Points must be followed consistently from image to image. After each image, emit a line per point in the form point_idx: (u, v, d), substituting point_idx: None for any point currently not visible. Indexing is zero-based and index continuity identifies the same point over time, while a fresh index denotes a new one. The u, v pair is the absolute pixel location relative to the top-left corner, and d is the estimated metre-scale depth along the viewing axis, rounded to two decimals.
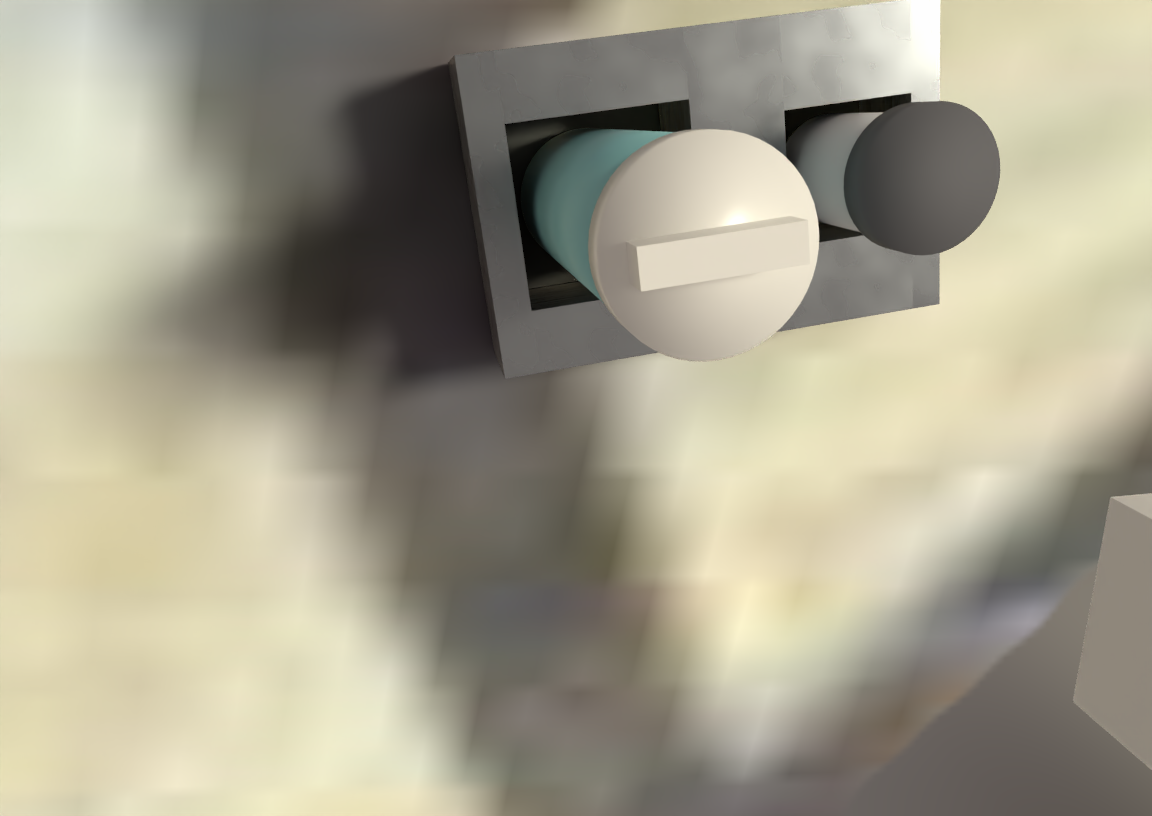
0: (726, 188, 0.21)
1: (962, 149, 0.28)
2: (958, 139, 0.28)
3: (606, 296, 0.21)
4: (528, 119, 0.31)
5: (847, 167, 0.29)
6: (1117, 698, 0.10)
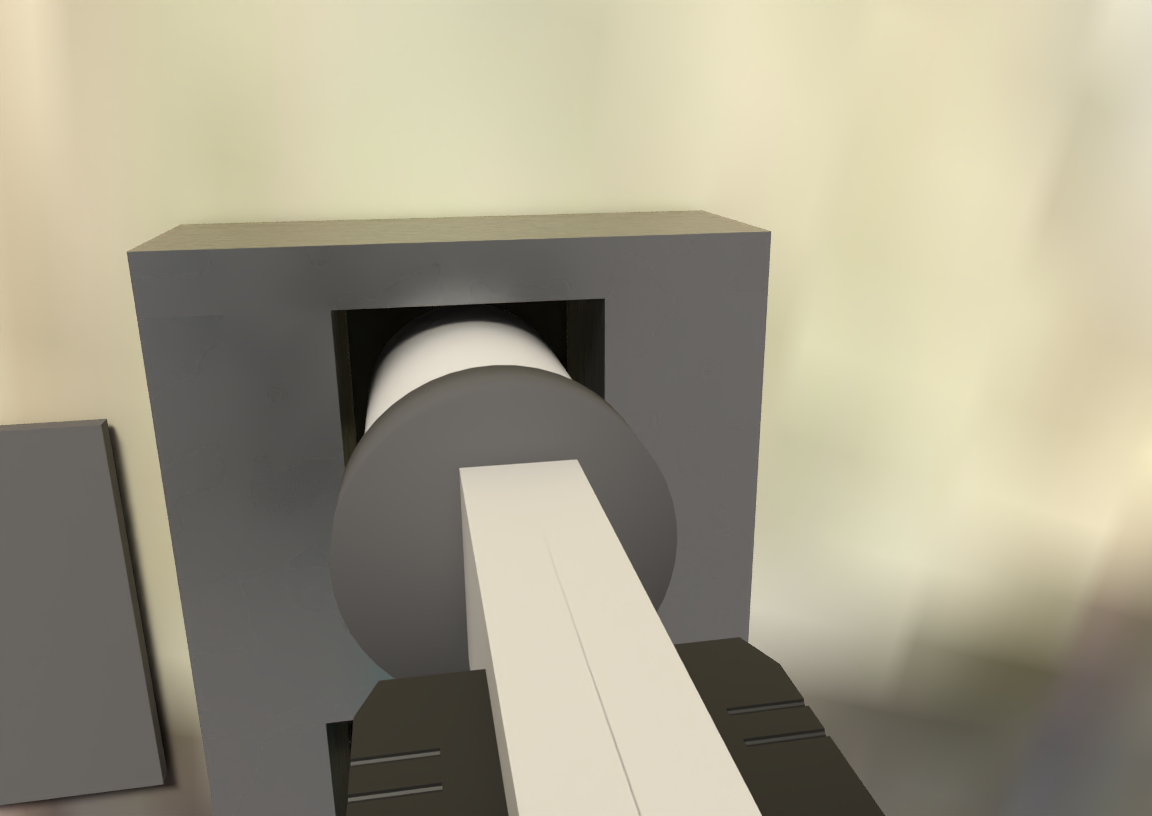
0: None
1: (446, 489, 0.12)
2: (421, 501, 0.12)
3: None
4: None
5: None
6: None
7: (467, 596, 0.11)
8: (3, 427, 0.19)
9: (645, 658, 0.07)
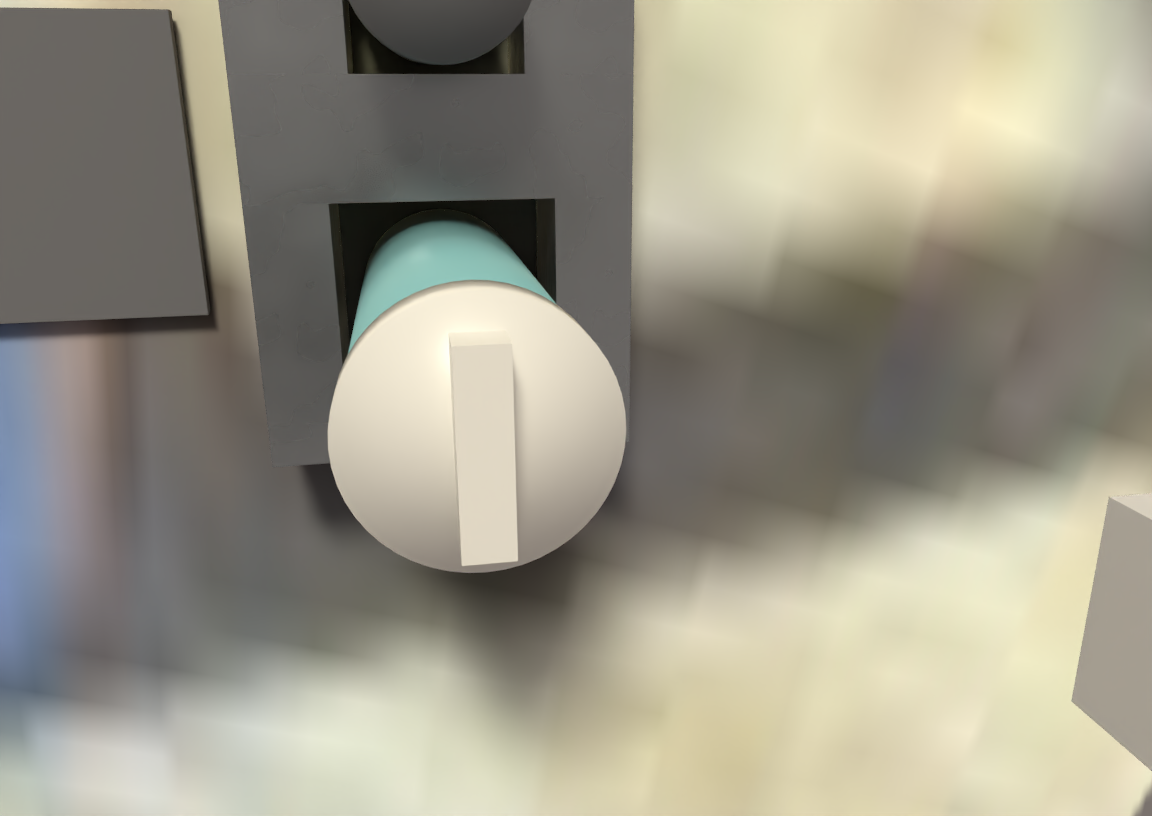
0: (403, 418, 0.16)
1: None
2: None
3: (523, 562, 0.18)
4: None
5: (415, 60, 0.22)
6: (1116, 698, 0.10)
7: None
8: None
9: None
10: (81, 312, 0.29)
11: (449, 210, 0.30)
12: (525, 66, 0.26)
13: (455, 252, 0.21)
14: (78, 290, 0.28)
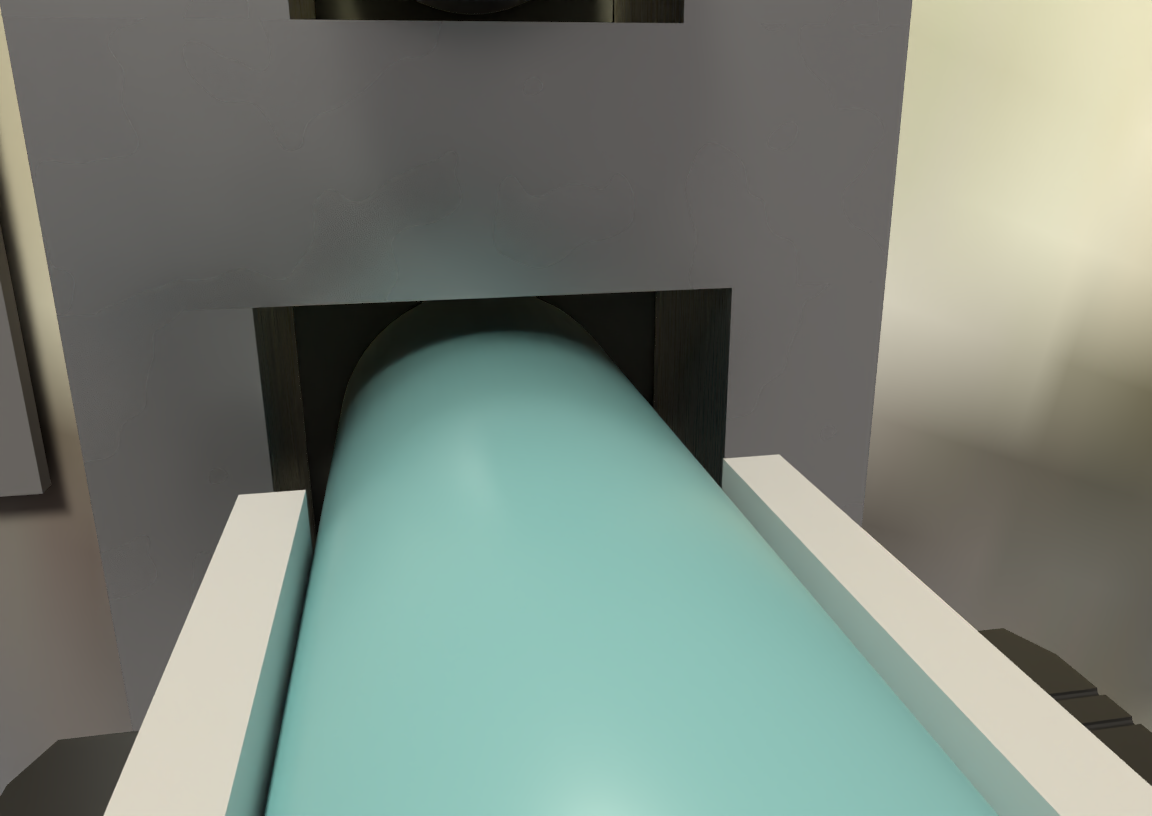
0: None
1: None
2: None
3: None
4: None
5: None
6: None
7: None
8: None
9: (960, 647, 0.07)
10: None
11: None
12: (685, 6, 0.12)
13: (583, 527, 0.07)
14: None
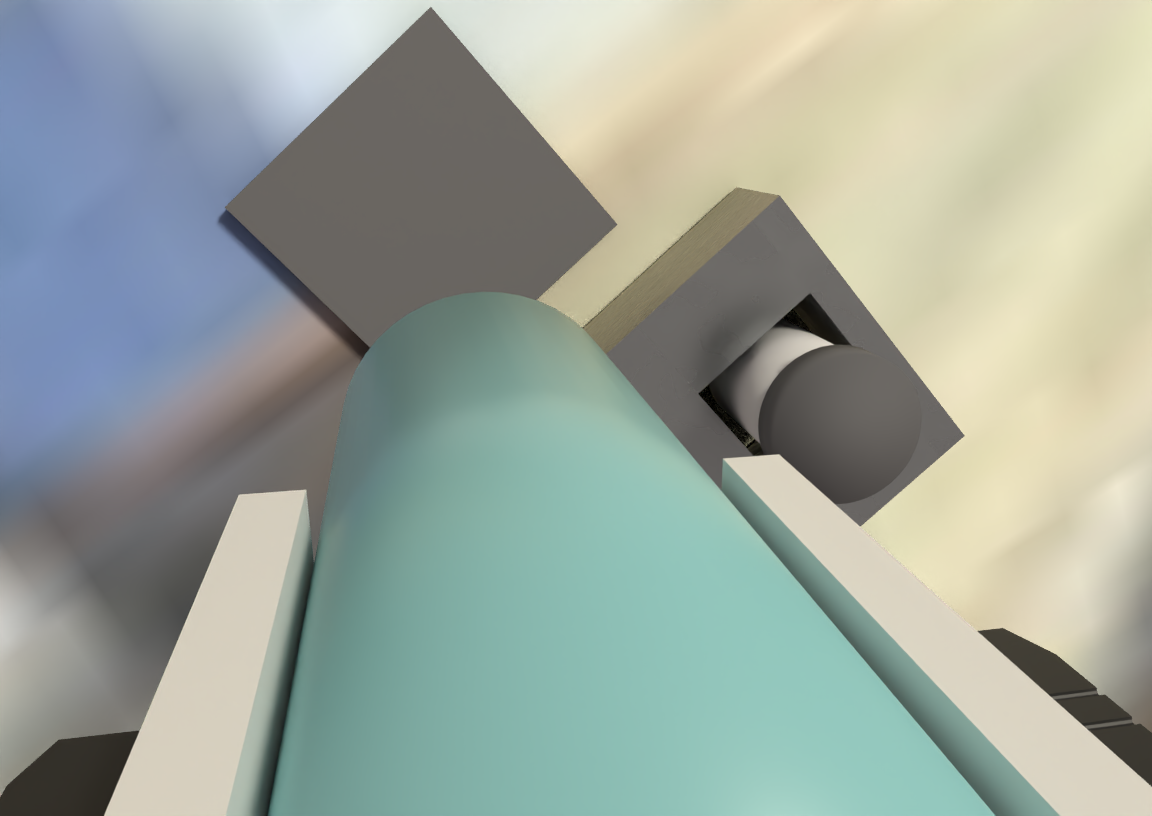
0: None
1: (860, 388, 0.26)
2: (850, 384, 0.26)
3: None
4: None
5: (765, 454, 0.28)
6: None
7: None
8: None
9: (959, 648, 0.07)
10: (352, 320, 0.31)
11: (501, 296, 0.16)
12: None
13: (586, 532, 0.07)
14: (368, 307, 0.31)
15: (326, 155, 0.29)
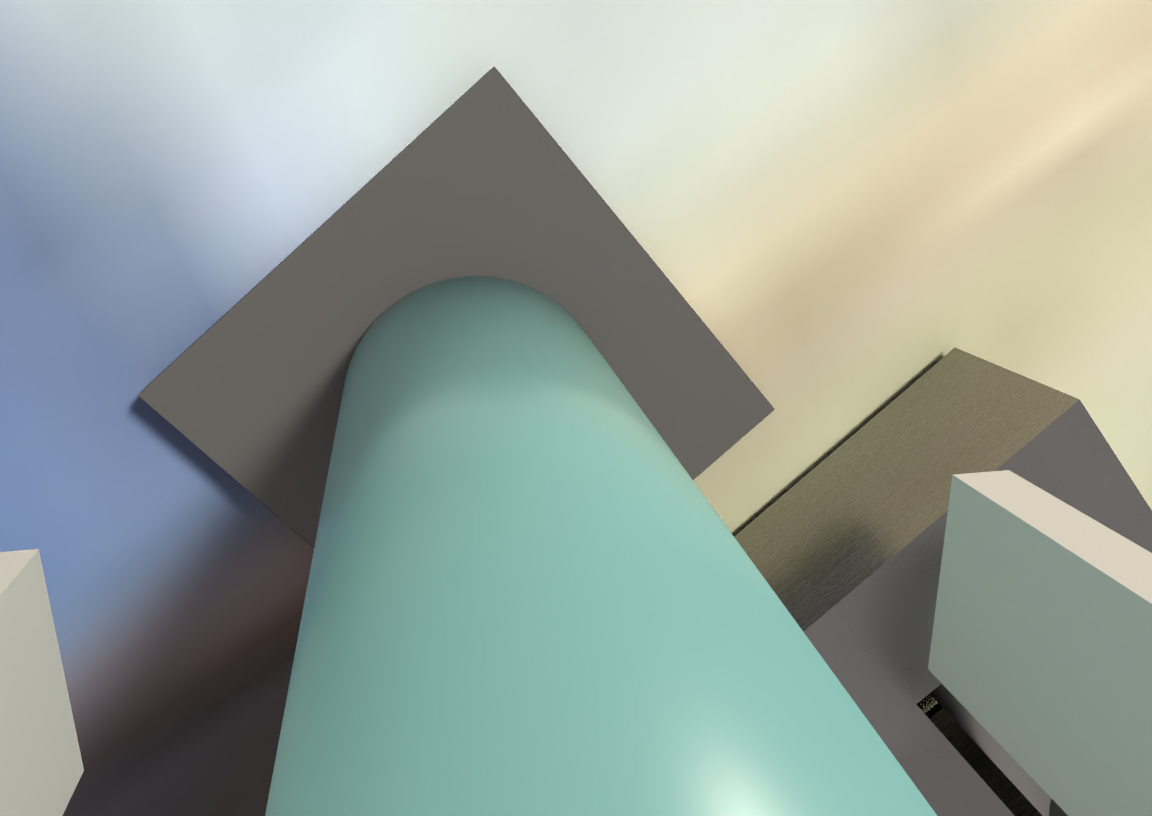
0: None
1: None
2: None
3: None
4: None
5: None
6: (960, 663, 0.11)
7: None
8: None
9: None
10: None
11: (490, 280, 0.17)
12: None
13: (546, 489, 0.08)
14: None
15: (311, 310, 0.17)
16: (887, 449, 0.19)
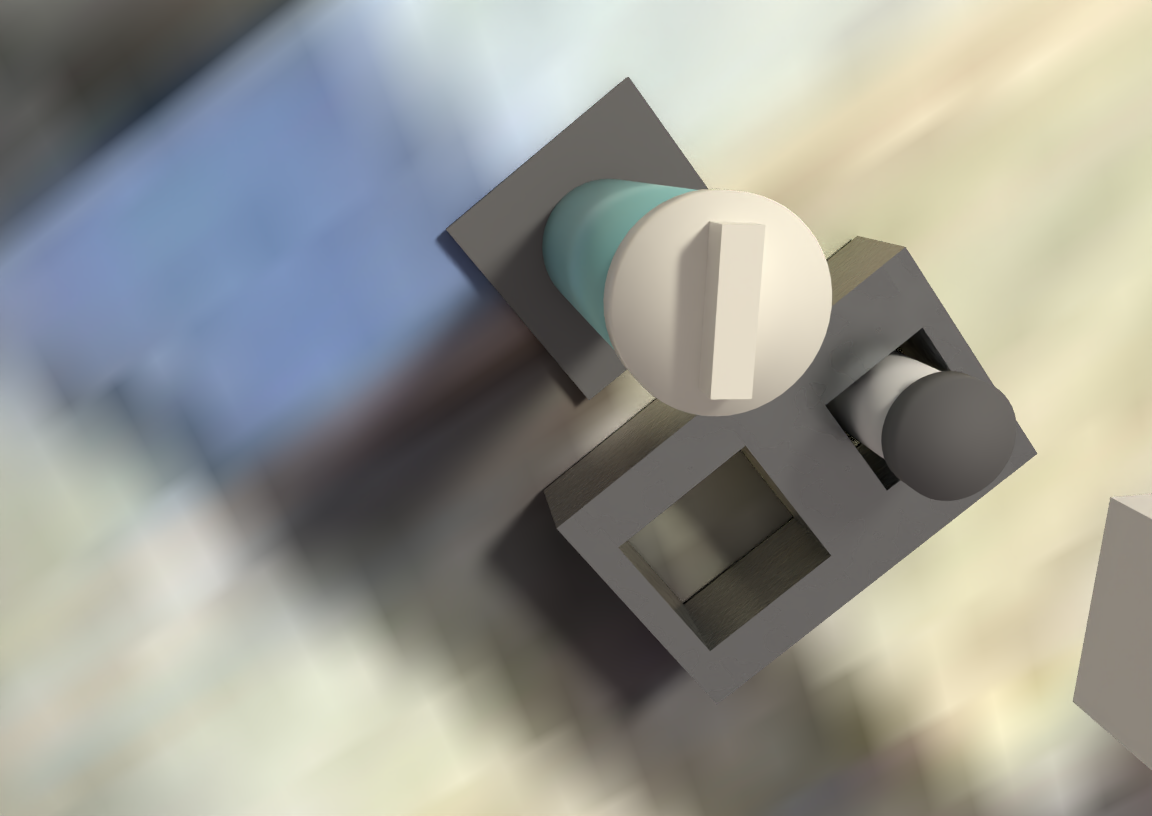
0: (670, 286, 0.21)
1: (969, 407, 0.33)
2: (962, 403, 0.33)
3: (744, 411, 0.23)
4: (633, 533, 0.36)
5: (885, 457, 0.34)
6: (1117, 698, 0.10)
7: None
8: None
9: None
10: (537, 328, 0.37)
11: None
12: (890, 487, 0.37)
13: (671, 187, 0.26)
14: (551, 318, 0.37)
15: (532, 192, 0.35)
16: None
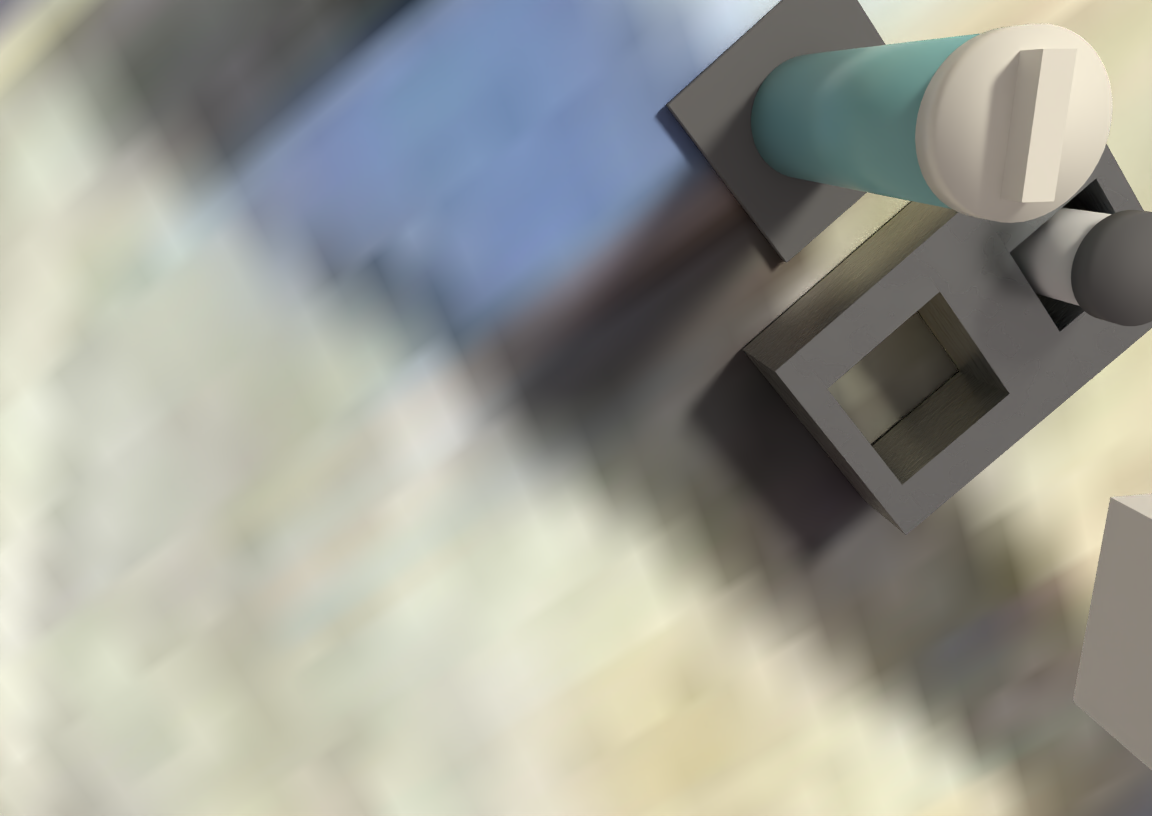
0: (984, 109, 0.26)
1: None
2: (1148, 235, 0.37)
3: (1034, 218, 0.27)
4: (840, 375, 0.40)
5: (1074, 290, 0.38)
6: (1117, 698, 0.10)
7: None
8: None
9: None
10: (744, 196, 0.41)
11: None
12: (1062, 329, 0.42)
13: None
14: (756, 186, 0.41)
15: (743, 67, 0.39)
16: None
